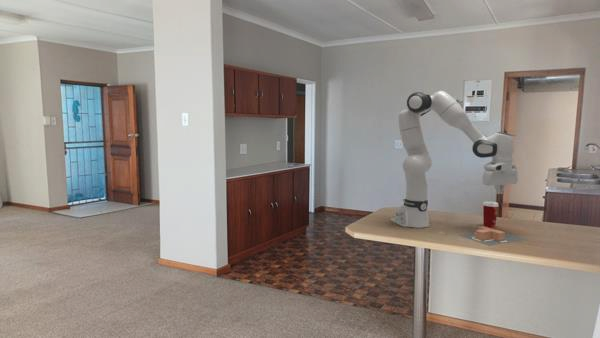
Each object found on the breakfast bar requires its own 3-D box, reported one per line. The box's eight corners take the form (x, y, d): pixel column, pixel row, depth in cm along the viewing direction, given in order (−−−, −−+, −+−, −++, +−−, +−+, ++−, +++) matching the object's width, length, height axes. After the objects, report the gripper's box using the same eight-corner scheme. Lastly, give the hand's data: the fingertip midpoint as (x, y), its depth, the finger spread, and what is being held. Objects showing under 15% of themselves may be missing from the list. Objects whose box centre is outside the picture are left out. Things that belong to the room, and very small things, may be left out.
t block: (468, 236, 198) (468, 228, 197) (483, 234, 202) (483, 226, 201) (489, 243, 187) (489, 234, 186) (504, 240, 191) (504, 232, 191)
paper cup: (499, 230, 212) (500, 204, 210) (483, 229, 214) (484, 203, 212) (495, 226, 220) (496, 201, 218) (479, 226, 221) (481, 200, 220)
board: (458, 237, 200) (458, 234, 199) (494, 231, 210) (494, 229, 210) (489, 247, 183) (489, 245, 183) (526, 241, 194) (527, 238, 194)
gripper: (511, 164, 206) (508, 191, 207) (481, 165, 197) (479, 193, 199) (522, 166, 200) (519, 193, 202) (492, 167, 192) (489, 196, 193)
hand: (499, 193), depth 200 cm, fingers closed
